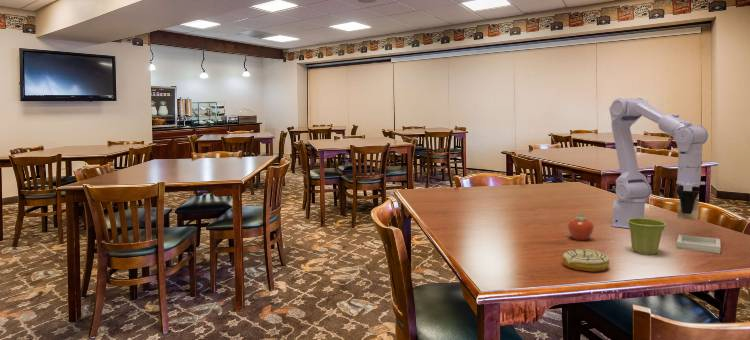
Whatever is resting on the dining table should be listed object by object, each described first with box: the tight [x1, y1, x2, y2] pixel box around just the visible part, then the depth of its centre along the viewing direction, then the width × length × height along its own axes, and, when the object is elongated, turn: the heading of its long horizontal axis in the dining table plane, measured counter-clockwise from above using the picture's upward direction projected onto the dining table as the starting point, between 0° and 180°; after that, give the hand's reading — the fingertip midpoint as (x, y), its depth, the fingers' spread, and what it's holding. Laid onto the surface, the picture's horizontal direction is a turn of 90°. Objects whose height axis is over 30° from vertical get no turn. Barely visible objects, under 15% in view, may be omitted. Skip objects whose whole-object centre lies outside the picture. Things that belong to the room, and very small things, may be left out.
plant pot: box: [627, 217, 667, 256], centre depth 127 cm, size 9×9×9 cm
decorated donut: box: [562, 248, 610, 273], centre depth 116 cm, size 10×11×4 cm
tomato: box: [567, 213, 595, 241], centre depth 141 cm, size 7×7×8 cm
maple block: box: [676, 199, 700, 221], centre depth 136 cm, size 5×5×5 cm
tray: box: [676, 233, 722, 254], centre depth 131 cm, size 10×10×2 cm
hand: (687, 211), depth 136 cm, fingers closed on maple block, 5 cm apart
